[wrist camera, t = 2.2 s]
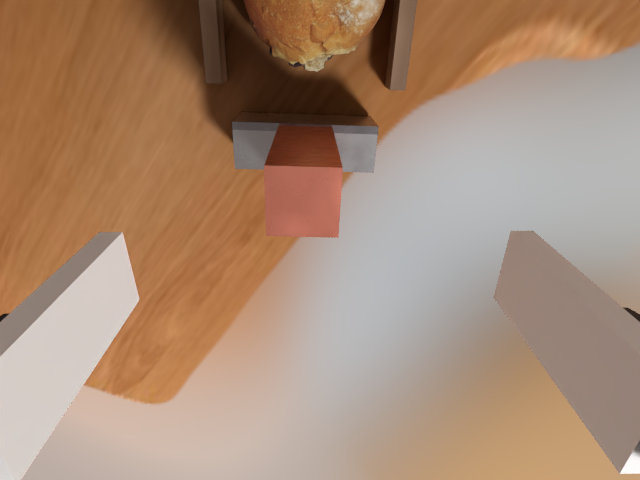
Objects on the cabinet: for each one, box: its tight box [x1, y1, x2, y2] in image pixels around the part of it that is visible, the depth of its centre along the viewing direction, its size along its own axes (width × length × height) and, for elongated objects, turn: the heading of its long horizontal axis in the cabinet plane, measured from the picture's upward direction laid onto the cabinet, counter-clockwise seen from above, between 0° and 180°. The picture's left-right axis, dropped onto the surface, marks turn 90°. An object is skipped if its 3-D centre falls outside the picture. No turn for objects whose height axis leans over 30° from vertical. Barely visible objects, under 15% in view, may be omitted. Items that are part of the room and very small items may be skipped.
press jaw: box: [232, 112, 378, 237], centre depth 27 cm, size 11×4×15 cm, turn 88°
